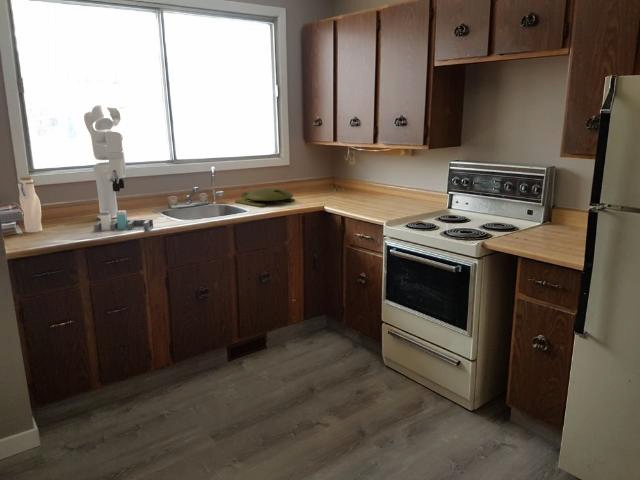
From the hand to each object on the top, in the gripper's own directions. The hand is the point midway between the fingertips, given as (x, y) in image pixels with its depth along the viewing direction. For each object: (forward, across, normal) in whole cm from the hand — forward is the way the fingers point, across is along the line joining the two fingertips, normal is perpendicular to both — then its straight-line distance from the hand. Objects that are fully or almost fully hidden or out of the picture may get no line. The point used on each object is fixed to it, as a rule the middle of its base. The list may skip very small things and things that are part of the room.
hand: (118, 189), depth 259 cm
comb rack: (+21, +1, 0) cm, 21 cm away
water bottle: (+22, -6, -46) cm, 51 cm away
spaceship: (+22, -67, +78) cm, 105 cm away
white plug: (+20, +1, -8) cm, 22 cm away
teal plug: (+20, +1, 0) cm, 20 cm away
